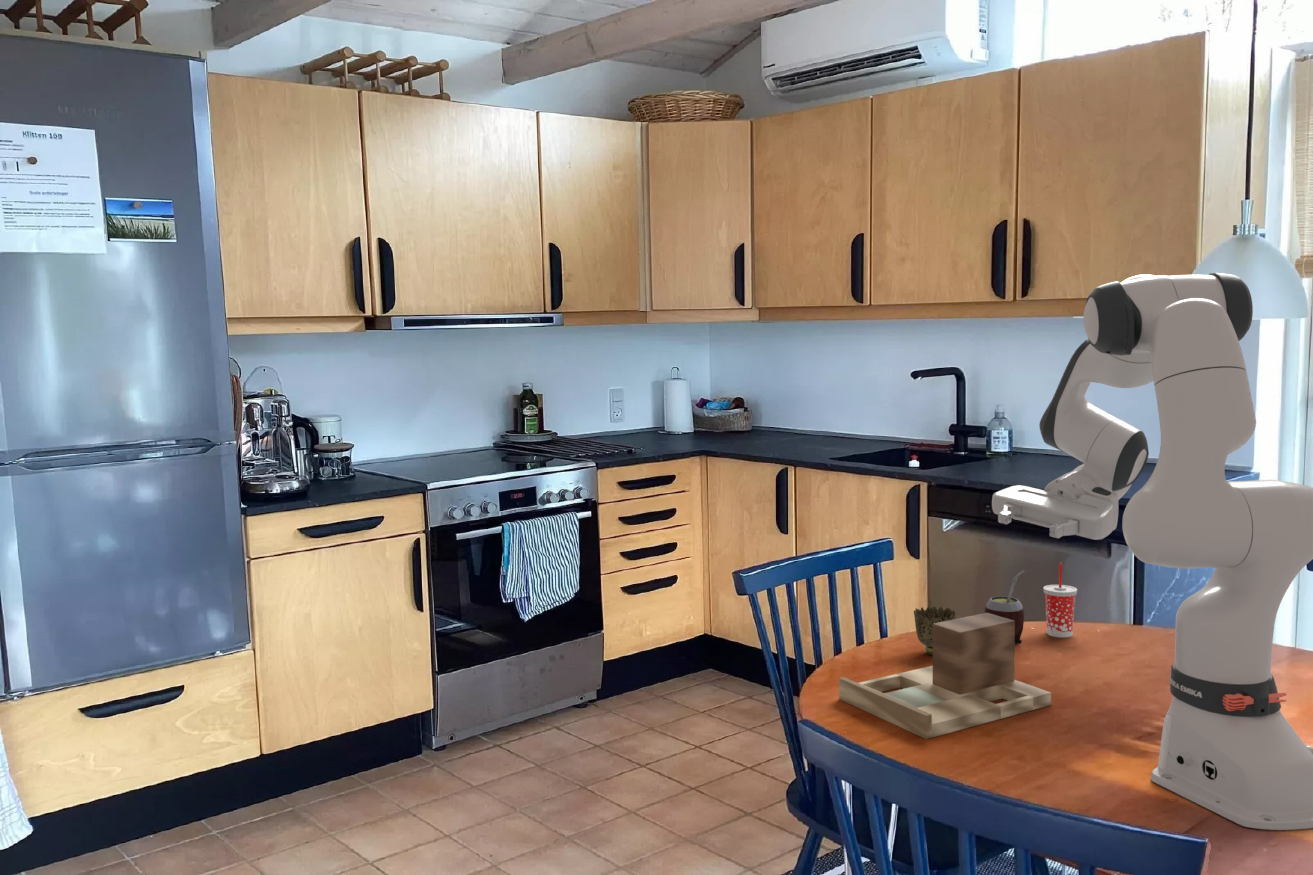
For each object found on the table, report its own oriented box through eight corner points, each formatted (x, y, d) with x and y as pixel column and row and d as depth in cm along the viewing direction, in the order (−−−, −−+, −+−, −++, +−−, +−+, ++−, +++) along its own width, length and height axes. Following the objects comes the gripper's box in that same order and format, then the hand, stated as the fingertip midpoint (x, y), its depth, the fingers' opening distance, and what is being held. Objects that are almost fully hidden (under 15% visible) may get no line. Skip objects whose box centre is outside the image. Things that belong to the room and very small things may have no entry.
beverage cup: (1072, 640, 200) (1073, 567, 199) (1039, 636, 204) (1040, 564, 202) (1079, 632, 205) (1080, 561, 204) (1046, 628, 209) (1047, 558, 207)
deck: (957, 671, 184) (957, 651, 184) (1051, 705, 167) (1051, 683, 167) (839, 699, 172) (839, 678, 172) (926, 739, 154) (926, 715, 154)
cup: (912, 647, 199) (912, 605, 198) (952, 648, 198) (952, 605, 197) (916, 659, 191) (916, 616, 190) (958, 660, 190) (958, 616, 189)
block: (986, 671, 178) (986, 612, 177) (1014, 681, 173) (1014, 620, 172) (932, 684, 172) (932, 623, 171) (959, 694, 167) (959, 632, 166)
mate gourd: (988, 634, 206) (989, 557, 204) (1031, 638, 202) (1032, 561, 201) (980, 644, 199) (981, 565, 198) (1024, 649, 196) (1025, 569, 194)
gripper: (1016, 471, 192) (972, 494, 184) (1127, 496, 177) (1085, 523, 169) (1015, 504, 194) (972, 528, 186) (1125, 531, 179) (1083, 559, 171)
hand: (1027, 526), depth 177 cm, fingers open, 8 cm apart
